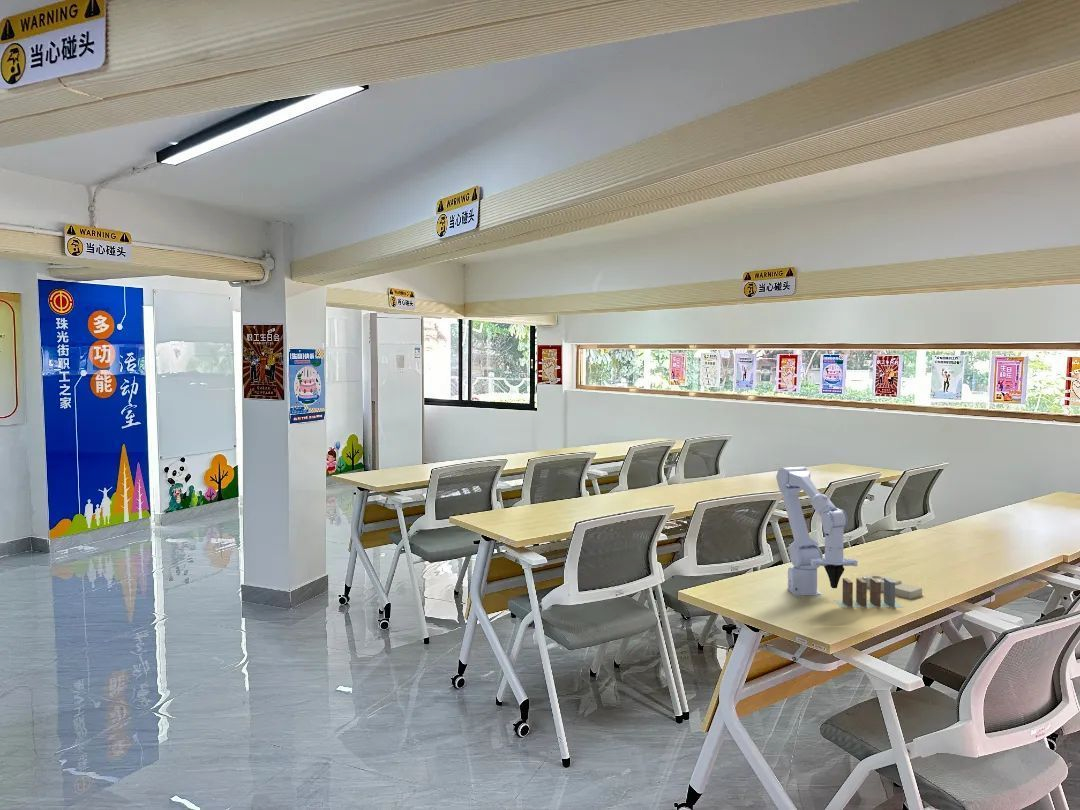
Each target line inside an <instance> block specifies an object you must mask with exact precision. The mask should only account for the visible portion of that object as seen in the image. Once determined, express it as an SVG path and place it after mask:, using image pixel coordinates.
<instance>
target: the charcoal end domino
mask: <svg viewBox="0 0 1080 810" xmlns="http://www.w3.org/2000/svg"><path fill="white" fill-rule="evenodd" d="M889 578H890V577H889ZM889 578H884V592H883V600H884V602H885V603H886V604H888V605H889V606H890V607H889V608H896V607H895V601H896V595H895V582H894V581H892V580H891V579H889Z"/></svg>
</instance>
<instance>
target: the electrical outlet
mask: <svg viewBox="0 0 1080 810" xmlns="http://www.w3.org/2000/svg"><path fill="white" fill-rule="evenodd" d="M870 578H875V579H877V580H878V581H880V582H881V592H883V593H884V578H889V579H891V580H892V581H894V582H895V596H898V597H901V598H905V599H908V600H912V599H915V598H917V597H921V596H923V587H919V586H916V585H912V584H911V585H910V584H907V583H903V582H902V580H900V579H896V578H893V577H890V576H889V577H888V576H885V575H881V574H876V573H872V574H867V575H865V576H862V577H861V579H863V580H864V581H865V582H867V589H870Z"/></svg>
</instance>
